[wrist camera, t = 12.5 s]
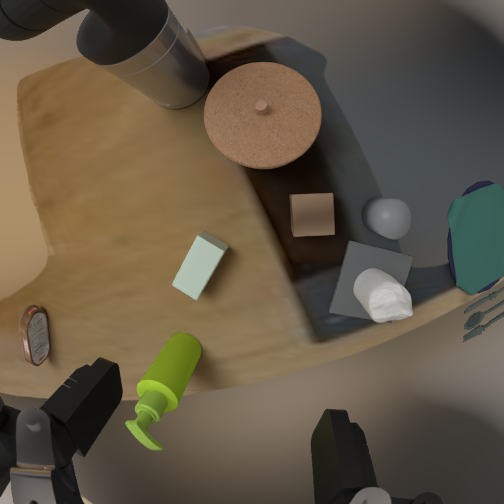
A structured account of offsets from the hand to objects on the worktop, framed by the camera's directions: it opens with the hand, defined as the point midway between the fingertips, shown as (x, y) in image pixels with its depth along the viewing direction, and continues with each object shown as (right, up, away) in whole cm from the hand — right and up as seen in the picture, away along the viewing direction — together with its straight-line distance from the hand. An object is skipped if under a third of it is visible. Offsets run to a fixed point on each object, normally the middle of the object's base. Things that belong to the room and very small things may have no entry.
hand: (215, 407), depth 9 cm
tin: (-46, -12, +38) cm, 60 cm away
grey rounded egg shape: (+19, +11, +27) cm, 35 cm away
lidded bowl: (+3, +22, +26) cm, 34 cm away
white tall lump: (+19, +1, +28) cm, 34 cm away
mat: (+19, +1, +29) cm, 35 cm away
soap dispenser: (-10, -11, +34) cm, 37 cm away
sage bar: (-6, +4, +30) cm, 31 cm away
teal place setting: (+44, +4, +27) cm, 51 cm away
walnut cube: (+9, +11, +28) cm, 31 cm away
